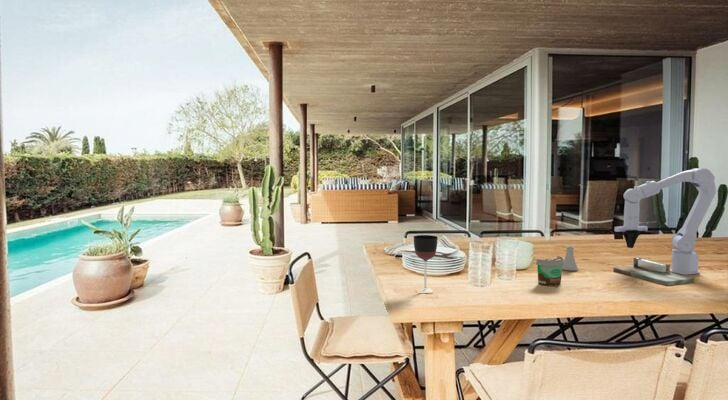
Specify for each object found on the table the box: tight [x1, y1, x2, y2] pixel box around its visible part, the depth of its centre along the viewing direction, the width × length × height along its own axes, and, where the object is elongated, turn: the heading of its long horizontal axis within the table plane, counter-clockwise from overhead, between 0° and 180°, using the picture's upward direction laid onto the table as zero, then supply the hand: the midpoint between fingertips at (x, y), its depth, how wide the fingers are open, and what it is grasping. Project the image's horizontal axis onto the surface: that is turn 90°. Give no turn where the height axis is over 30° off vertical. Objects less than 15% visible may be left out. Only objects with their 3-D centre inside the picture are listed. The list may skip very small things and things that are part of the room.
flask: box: [562, 245, 579, 272], centre depth 195 cm, size 7×7×10 cm
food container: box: [535, 255, 565, 287], centre depth 171 cm, size 12×6×10 cm, turn 117°
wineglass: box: [413, 234, 439, 292], centre depth 163 cm, size 8×9×20 cm
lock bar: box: [632, 257, 666, 272], centre depth 187 cm, size 14×3×4 cm, turn 16°
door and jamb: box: [613, 261, 694, 286], centre depth 182 cm, size 14×24×5 cm, turn 18°
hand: (630, 247), depth 195 cm, fingers closed
